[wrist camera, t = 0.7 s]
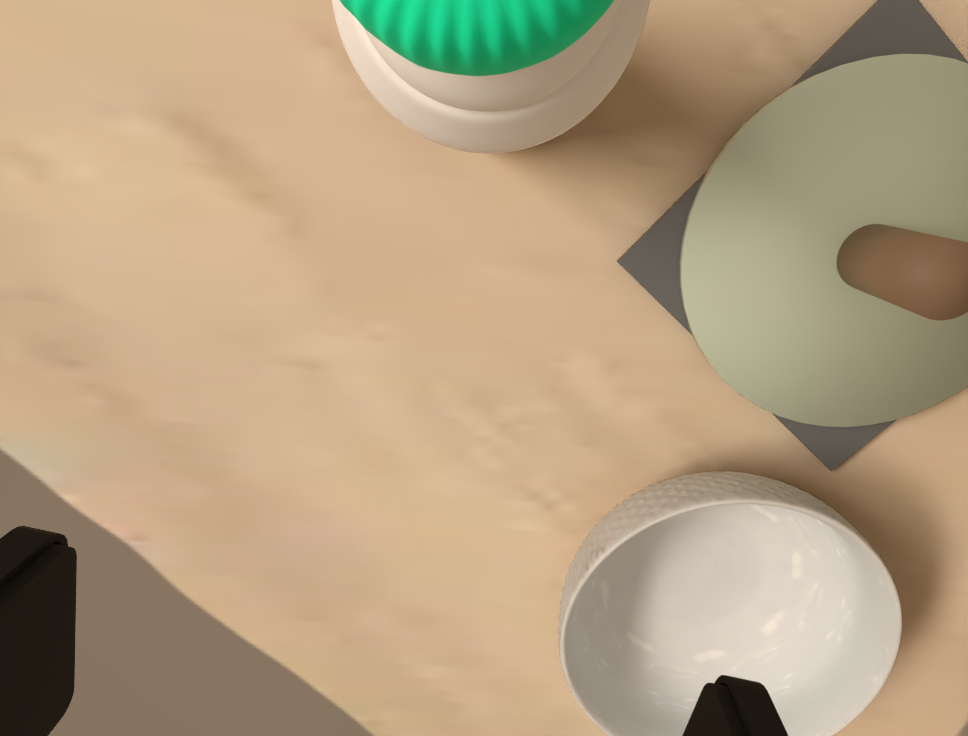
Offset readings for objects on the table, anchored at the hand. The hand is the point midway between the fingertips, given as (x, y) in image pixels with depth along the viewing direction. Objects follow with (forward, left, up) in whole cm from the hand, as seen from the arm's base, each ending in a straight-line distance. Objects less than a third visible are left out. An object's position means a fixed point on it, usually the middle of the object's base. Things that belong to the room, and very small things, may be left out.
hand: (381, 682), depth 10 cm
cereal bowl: (+3, +21, -27) cm, 34 cm away
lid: (-15, +13, -26) cm, 32 cm away
